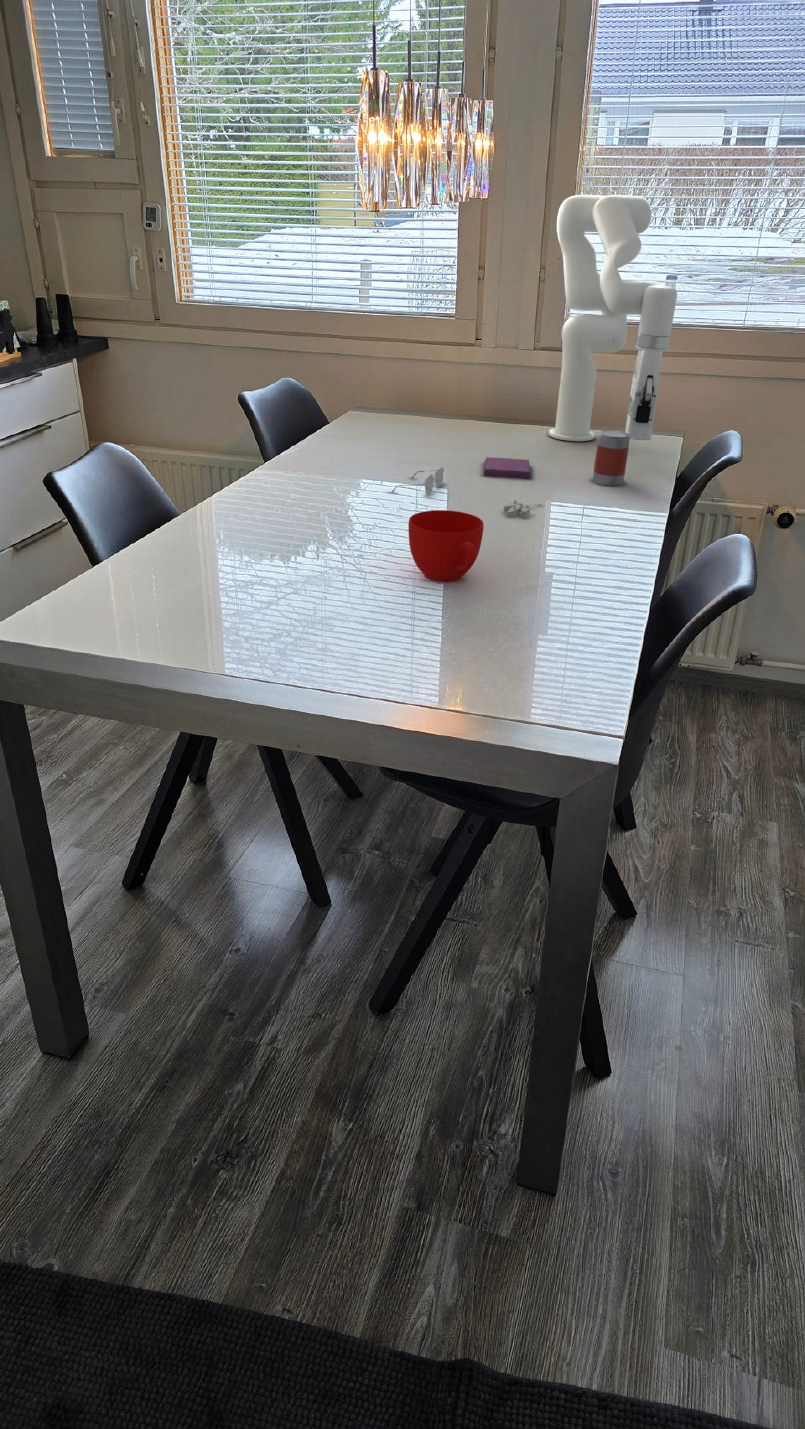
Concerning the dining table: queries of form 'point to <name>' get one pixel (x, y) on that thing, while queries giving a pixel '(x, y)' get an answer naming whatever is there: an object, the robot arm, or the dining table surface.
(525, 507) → the game controller
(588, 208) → the robot arm
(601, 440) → the tin can
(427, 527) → the ceramic cup
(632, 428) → the syrup box
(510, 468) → the purple square slab
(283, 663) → the dining table surface
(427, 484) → the eyeglasses
